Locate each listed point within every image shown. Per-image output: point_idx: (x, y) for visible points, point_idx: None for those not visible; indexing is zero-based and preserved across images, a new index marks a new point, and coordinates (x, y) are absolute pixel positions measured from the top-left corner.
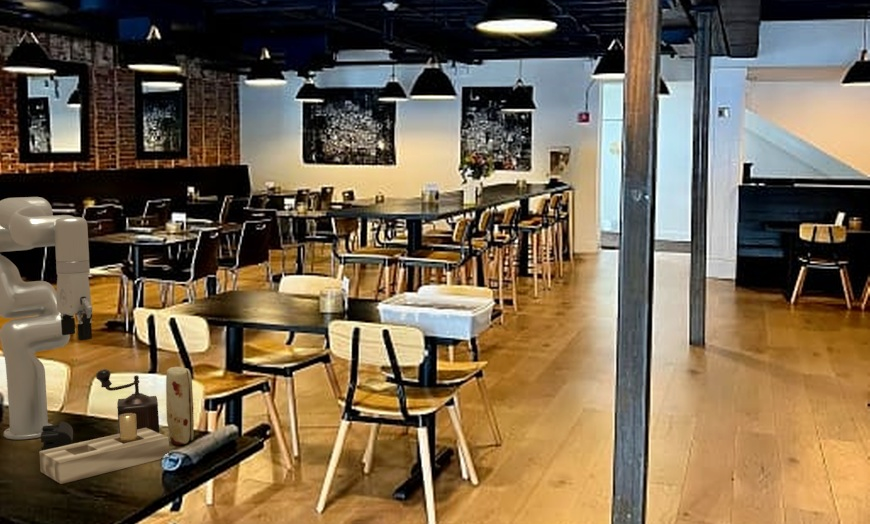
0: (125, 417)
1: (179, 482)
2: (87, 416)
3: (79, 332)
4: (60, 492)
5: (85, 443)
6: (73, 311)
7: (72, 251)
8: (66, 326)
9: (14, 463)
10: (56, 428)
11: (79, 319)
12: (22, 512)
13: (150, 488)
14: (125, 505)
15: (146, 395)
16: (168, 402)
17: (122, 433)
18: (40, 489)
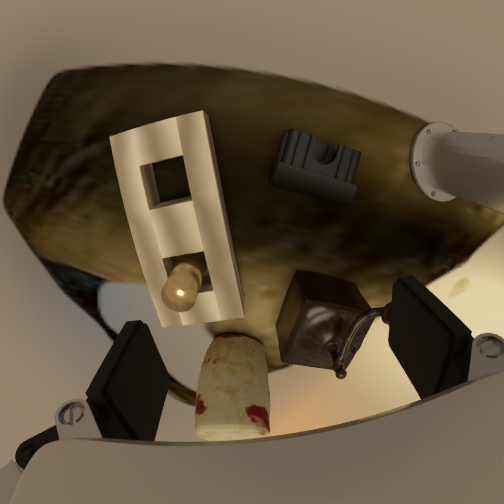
0: (162, 288)
1: (65, 283)
2: (459, 262)
3: (112, 354)
4: (92, 134)
5: (202, 198)
6: (25, 468)
7: None
8: (417, 330)
9: (287, 87)
10: (325, 169)
11: (68, 429)
12: (54, 87)
13: (57, 247)
14: (22, 206)
15: (330, 360)
16: (219, 376)
17: (175, 268)
18: (119, 107)
